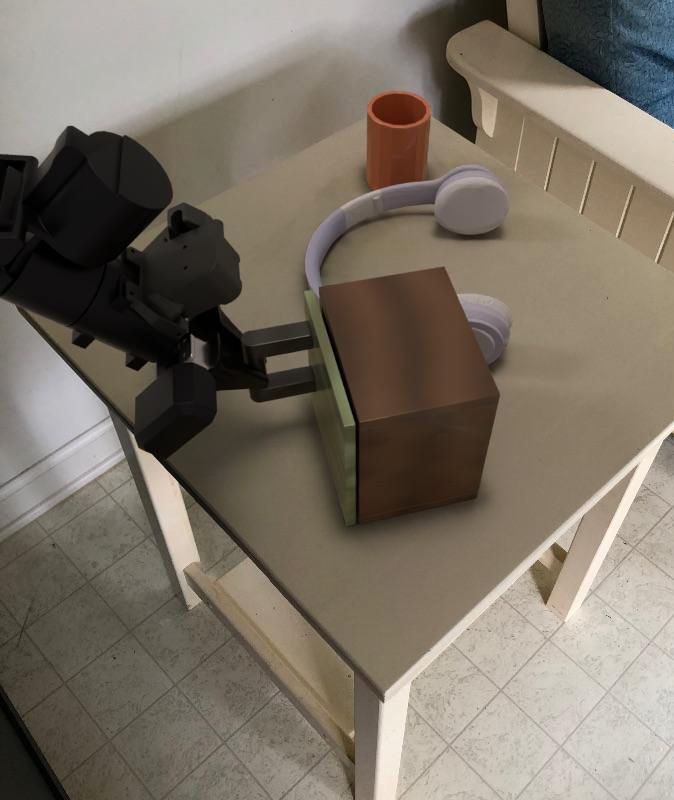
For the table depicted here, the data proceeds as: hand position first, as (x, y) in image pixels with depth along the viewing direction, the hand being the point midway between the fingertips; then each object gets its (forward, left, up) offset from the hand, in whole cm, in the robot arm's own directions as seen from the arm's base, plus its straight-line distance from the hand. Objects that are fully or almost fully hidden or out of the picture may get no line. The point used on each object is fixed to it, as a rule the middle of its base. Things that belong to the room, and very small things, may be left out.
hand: (264, 373), depth 65 cm
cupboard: (+11, -2, -8) cm, 13 cm away
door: (+3, -4, -7) cm, 9 cm away
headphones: (+12, +18, -8) cm, 23 cm away
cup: (+11, +34, -8) cm, 37 cm away
